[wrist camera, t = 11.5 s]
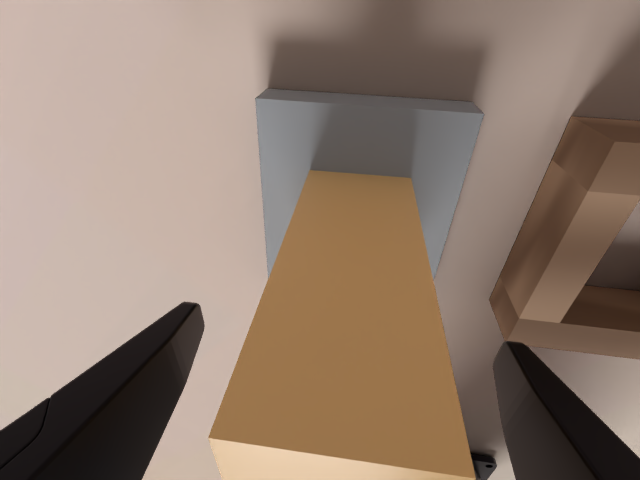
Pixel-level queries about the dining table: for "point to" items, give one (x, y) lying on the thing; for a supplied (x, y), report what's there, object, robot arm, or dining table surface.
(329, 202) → the amber plug
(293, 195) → the grey rubber mat
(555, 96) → the dining table surface
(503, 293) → the brown square frame
